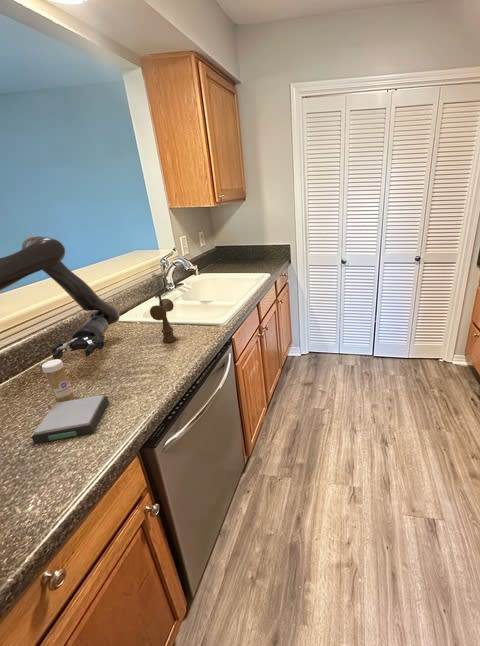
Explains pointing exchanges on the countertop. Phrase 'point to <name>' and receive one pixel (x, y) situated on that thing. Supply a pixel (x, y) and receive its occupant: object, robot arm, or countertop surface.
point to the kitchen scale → (71, 419)
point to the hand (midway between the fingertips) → (71, 355)
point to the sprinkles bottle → (58, 380)
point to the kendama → (164, 317)
